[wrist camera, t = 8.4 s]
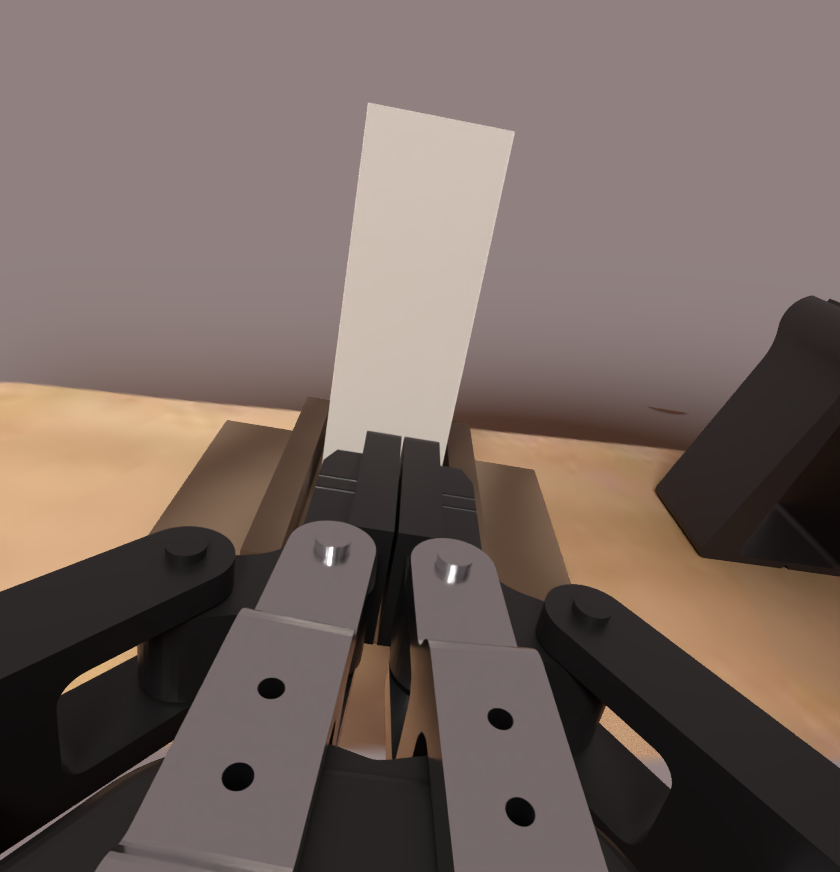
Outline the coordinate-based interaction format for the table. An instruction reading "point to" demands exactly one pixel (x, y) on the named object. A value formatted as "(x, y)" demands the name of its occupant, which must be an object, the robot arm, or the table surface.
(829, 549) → the phone stand
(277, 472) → the ridged brown base plate
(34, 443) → the table surface
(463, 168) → the cream block
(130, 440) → the table surface
